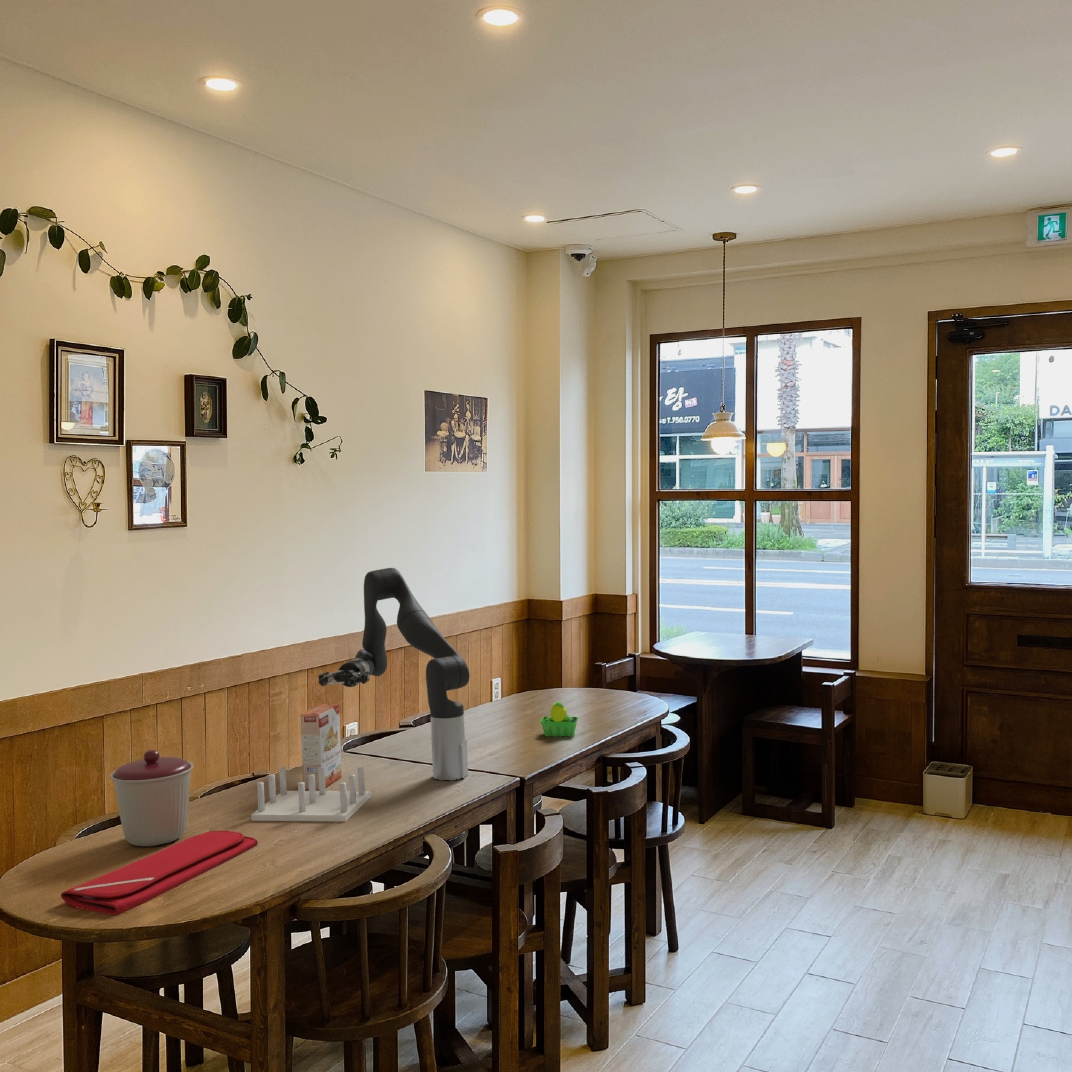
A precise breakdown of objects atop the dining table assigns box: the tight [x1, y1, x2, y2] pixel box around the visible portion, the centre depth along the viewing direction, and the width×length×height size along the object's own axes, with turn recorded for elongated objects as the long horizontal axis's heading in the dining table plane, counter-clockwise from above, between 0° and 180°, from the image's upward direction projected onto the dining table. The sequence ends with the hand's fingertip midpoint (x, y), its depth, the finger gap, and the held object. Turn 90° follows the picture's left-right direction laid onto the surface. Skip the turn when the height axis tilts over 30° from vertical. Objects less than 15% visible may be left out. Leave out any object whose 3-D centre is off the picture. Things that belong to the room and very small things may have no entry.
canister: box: [109, 749, 194, 847], centre depth 236 cm, size 18×18×21 cm
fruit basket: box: [540, 701, 579, 738], centre depth 324 cm, size 11×9×11 cm
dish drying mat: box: [60, 830, 259, 916], centre depth 214 cm, size 16×41×4 cm, turn 156°
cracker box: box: [300, 703, 342, 791], centre depth 278 cm, size 14×6×21 cm, turn 168°
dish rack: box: [250, 766, 372, 823], centre depth 255 cm, size 24×20×8 cm
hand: (336, 682), depth 291 cm, fingers open, 8 cm apart
